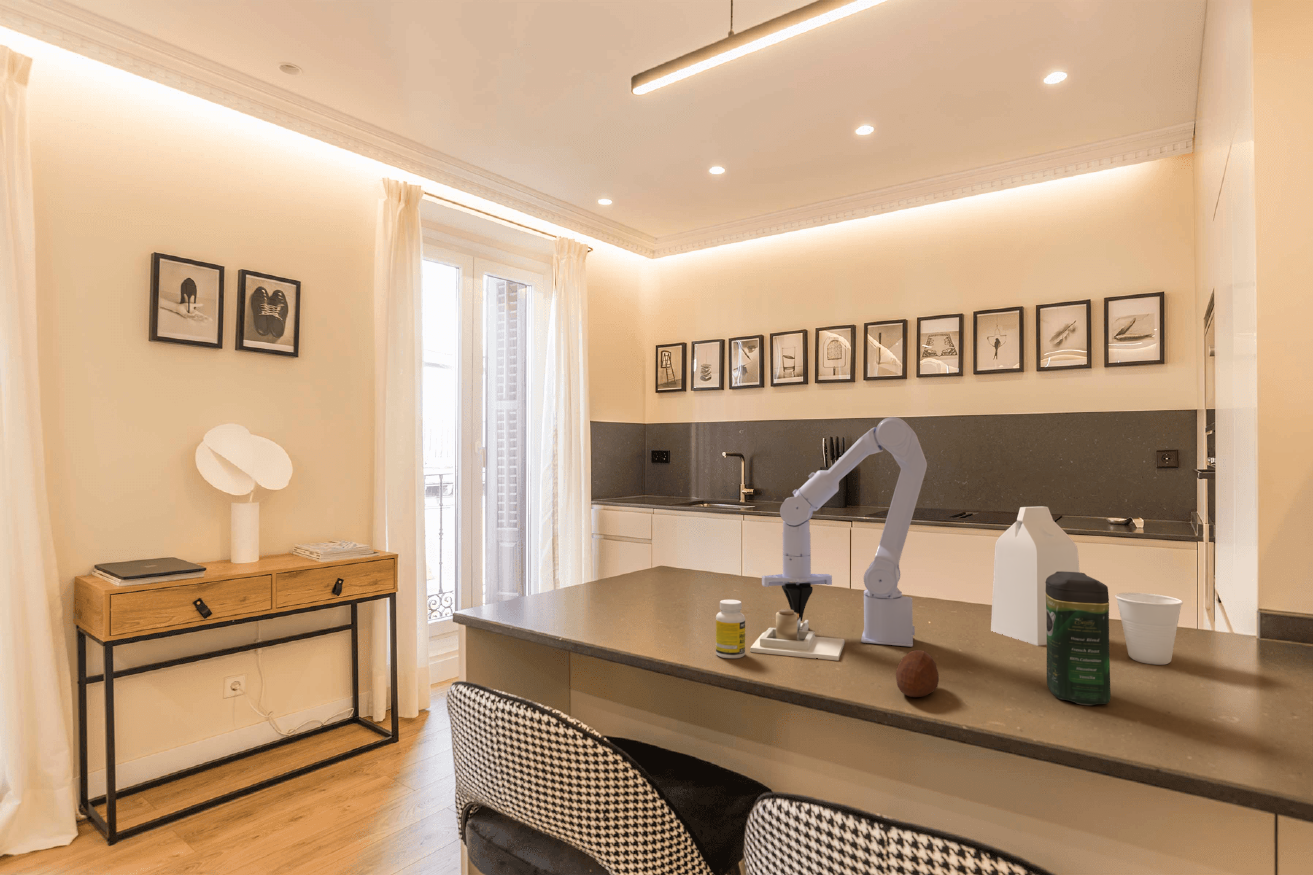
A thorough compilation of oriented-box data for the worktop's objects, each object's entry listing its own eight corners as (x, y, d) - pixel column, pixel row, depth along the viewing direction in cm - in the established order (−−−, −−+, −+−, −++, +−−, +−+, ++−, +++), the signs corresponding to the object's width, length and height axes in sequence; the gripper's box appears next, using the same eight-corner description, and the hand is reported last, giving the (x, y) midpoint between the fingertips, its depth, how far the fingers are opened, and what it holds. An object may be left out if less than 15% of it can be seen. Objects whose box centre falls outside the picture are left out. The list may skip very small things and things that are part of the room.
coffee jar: (1118, 710, 98) (1115, 580, 98) (1055, 703, 100) (1053, 577, 101) (1099, 688, 107) (1096, 569, 107) (1042, 683, 110) (1040, 567, 110)
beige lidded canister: (797, 645, 132) (797, 608, 132) (796, 650, 128) (796, 613, 128) (777, 643, 133) (776, 607, 133) (775, 649, 129) (775, 612, 129)
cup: (1123, 648, 128) (1121, 590, 129) (1189, 659, 121) (1187, 597, 122) (1110, 660, 122) (1108, 598, 122) (1179, 672, 114) (1177, 606, 115)
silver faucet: (800, 629, 140) (800, 611, 140) (794, 639, 133) (794, 620, 133) (791, 628, 141) (791, 611, 141) (785, 638, 133) (784, 619, 133)
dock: (848, 630, 142) (848, 620, 143) (838, 660, 122) (838, 648, 122) (772, 624, 148) (772, 614, 148) (750, 651, 127) (750, 640, 128)
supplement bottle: (744, 660, 123) (743, 605, 123) (714, 658, 124) (713, 604, 124) (746, 651, 128) (746, 598, 128) (717, 650, 129) (717, 597, 129)
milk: (1035, 626, 146) (1033, 504, 146) (1084, 640, 135) (1081, 508, 135) (990, 631, 142) (988, 505, 143) (1037, 645, 131) (1035, 510, 132)
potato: (887, 701, 102) (887, 658, 102) (904, 679, 112) (903, 640, 112) (930, 709, 99) (930, 664, 99) (943, 686, 108) (943, 645, 109)
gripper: (768, 558, 137) (768, 625, 137) (837, 556, 139) (838, 623, 139) (758, 553, 144) (759, 617, 144) (824, 551, 146) (825, 615, 146)
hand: (797, 619), depth 142 cm, fingers closed
